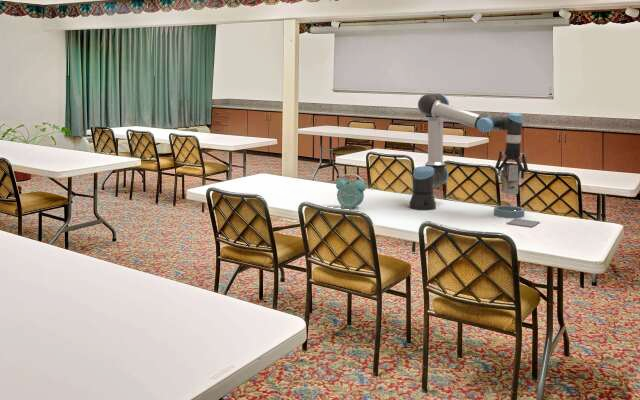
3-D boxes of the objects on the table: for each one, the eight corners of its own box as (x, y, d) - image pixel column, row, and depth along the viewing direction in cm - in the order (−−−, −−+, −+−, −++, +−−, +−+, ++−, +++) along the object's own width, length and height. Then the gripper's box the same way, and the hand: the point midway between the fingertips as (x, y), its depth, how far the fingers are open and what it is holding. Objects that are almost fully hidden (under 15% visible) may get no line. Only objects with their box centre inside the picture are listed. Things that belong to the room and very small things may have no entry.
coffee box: (518, 194, 333) (520, 164, 329) (506, 194, 332) (509, 164, 329) (511, 191, 342) (514, 162, 338) (500, 191, 341) (502, 162, 338)
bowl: (489, 215, 337) (490, 209, 337) (500, 210, 350) (500, 204, 349) (518, 219, 328) (518, 213, 328) (527, 214, 341) (527, 208, 340)
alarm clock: (333, 208, 355) (333, 173, 351) (339, 205, 364) (339, 171, 360) (361, 210, 349) (362, 175, 345) (367, 207, 357) (367, 173, 353)
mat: (506, 224, 318) (506, 222, 318) (515, 219, 329) (515, 218, 329) (531, 227, 311) (531, 226, 311) (539, 222, 321) (539, 221, 321)
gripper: (490, 141, 335) (487, 181, 339) (532, 144, 322) (528, 186, 326) (495, 140, 341) (492, 179, 345) (536, 143, 328) (533, 184, 332)
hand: (510, 183), depth 336 cm, fingers closed on coffee box, 10 cm apart
